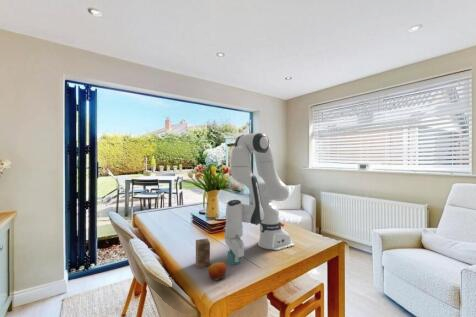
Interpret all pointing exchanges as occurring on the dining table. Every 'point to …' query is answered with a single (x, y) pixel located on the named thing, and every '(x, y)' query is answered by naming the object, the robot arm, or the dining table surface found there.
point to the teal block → (232, 258)
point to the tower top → (202, 247)
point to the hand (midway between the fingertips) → (234, 258)
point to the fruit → (217, 270)
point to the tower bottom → (202, 261)
